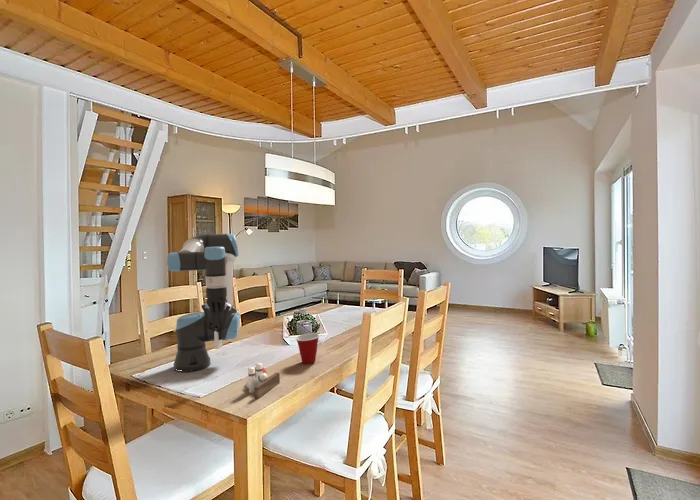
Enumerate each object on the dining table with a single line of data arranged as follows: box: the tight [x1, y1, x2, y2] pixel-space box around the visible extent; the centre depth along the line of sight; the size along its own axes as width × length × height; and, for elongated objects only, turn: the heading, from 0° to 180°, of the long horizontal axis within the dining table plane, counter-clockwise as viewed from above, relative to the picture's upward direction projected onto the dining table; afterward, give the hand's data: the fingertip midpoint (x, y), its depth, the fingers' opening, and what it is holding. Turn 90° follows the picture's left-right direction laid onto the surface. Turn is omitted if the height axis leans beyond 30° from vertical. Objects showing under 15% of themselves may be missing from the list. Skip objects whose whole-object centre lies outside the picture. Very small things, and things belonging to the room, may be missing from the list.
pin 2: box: [255, 362, 264, 386], centre depth 148 cm, size 2×2×9 cm
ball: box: [254, 366, 268, 378], centre depth 153 cm, size 6×6×6 cm
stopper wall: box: [254, 372, 281, 400], centre depth 144 cm, size 2×15×4 cm, turn 161°
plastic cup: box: [295, 332, 320, 365], centre depth 175 cm, size 11×11×12 cm
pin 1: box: [247, 366, 257, 394], centre depth 143 cm, size 2×2×9 cm
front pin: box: [245, 372, 269, 389], centre depth 146 cm, size 2×2×9 cm
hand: (218, 347), depth 150 cm, fingers closed
